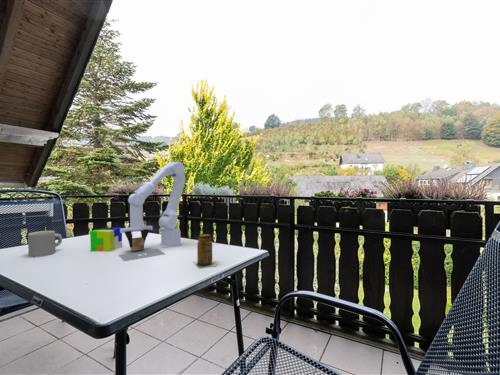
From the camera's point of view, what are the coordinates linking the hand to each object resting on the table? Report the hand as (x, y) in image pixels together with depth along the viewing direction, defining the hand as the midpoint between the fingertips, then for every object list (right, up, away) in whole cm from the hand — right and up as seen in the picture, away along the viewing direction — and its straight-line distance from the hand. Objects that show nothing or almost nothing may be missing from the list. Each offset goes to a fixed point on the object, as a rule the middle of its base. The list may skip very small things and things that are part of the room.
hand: (136, 246), depth 131 cm
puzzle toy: (-17, -3, +4) cm, 17 cm away
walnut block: (0, -1, 0) cm, 1 cm away
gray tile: (+5, -3, -7) cm, 9 cm away
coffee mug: (-41, -3, -3) cm, 41 cm away
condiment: (+36, -3, -20) cm, 42 cm away
